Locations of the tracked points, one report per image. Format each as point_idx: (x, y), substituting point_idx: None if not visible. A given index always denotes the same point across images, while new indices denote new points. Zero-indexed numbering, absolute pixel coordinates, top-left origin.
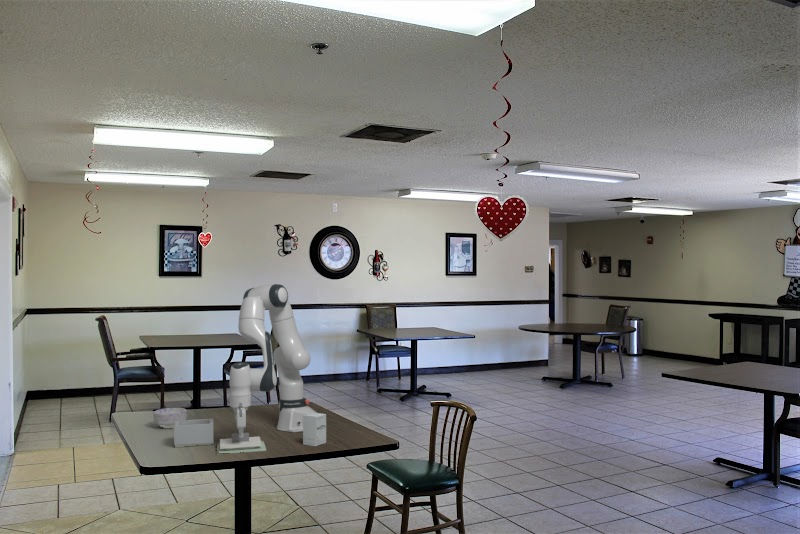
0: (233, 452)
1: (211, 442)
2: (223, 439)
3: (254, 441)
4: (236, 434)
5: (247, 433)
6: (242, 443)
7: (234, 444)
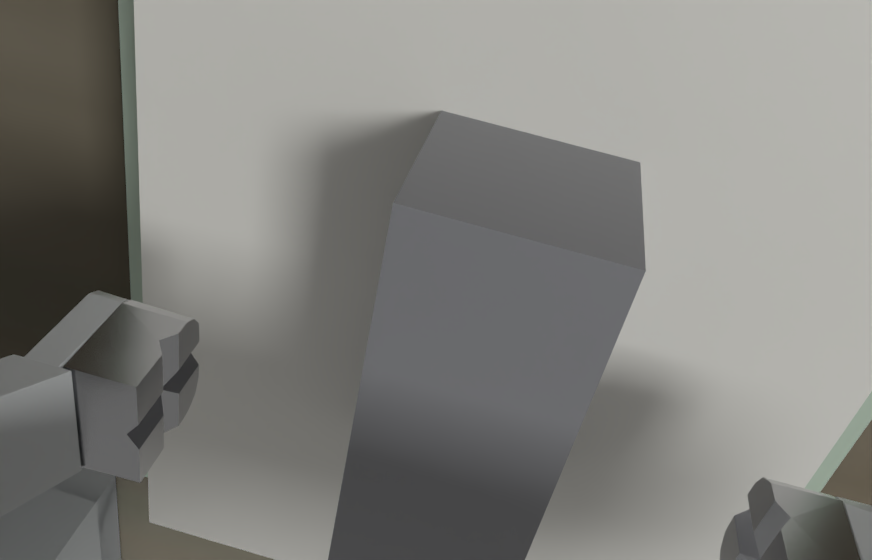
0: (832, 461)
1: (94, 524)
2: (191, 494)
3: (769, 33)
4: (470, 528)
5: (507, 278)
6: (763, 363)
7: (730, 504)
